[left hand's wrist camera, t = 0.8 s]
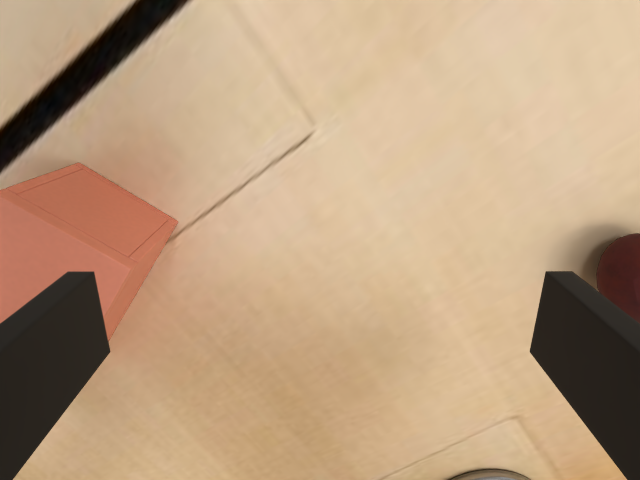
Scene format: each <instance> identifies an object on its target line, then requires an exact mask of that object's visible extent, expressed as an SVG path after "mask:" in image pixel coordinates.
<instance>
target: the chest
mask: <svg viewBox="0 0 640 480" xmlns="http://www.w3.org/2000/svg"><path fill="white" fill-rule="evenodd" d="M6 189H7V190H9V191H11V192H12V193H14V194H16V195H18V196H20V197H21V198H23V199H25V200H27V201H28V202H30V203H32V204H34V205H36V206H37V207H39V208H41V209H43V210H45V211H46V212H48V213H50V214H52V215H53V216H55V217H57V218H59V219H61V220H62V221H64V222H66V223H68V224H69V225H71V226H73V227H75V228H77V229H78V230H80V231H82V232H84V233H86V234H87V235H89V236H91V237H93V238H94V239H96V240H98V241H100V242H102V243H103V244H105V245H107V246H109V247H110V248H112V249H114V250H116V251H118V252H119V253H121V254H123V255H125V256H126V257H128V258H130V259H132V260H134V261H135V262H137V265H136V267H135V268H134V270H133V272H132V274H131V275H130V277H129V279H128V281H127V282H126V284H125V286H124V288H123V289H122V291H121V293H120V295H119V296H118V298H117V300H116V302H115V303H114V305H113V307H112V309H111V310H110V312H109V314H108V316H107V317H106V319H105V321H104V323H105V328H106V333H107V338H108V341H109V339H110V338H111V336H112V334H113V333H114V331H115V329H116V327H117V326H118V324H119V322H120V321H121V319H122V317H123V316H124V314H125V312H126V310H127V309H128V307H129V305H130V304H131V302H132V300H133V298H134V297H135V295H136V293H137V292H138V290H139V288H140V286H141V285H142V283H143V281H144V280H145V278H146V276H147V274H148V273H149V271H150V269H151V268H152V266H153V264H154V263H155V261H156V259H157V257H158V256H159V254H160V252H161V251H162V249H163V247H164V245H165V244H166V242H167V240H168V239H169V237H170V235H171V233H172V232H173V230H174V228H175V227H176V225H177V223H178V221H176V220H175V219H173V218H171V217H170V216H168V215H166V214H165V213H163V212H161V211H160V210H158V209H156V208H154V207H153V206H151V205H149V204H148V203H146V202H144V201H143V200H141V199H139V198H138V197H136V196H134V195H133V194H131V193H129V192H128V191H126V190H124V189H122V188H121V187H119V186H117V185H116V184H114V183H112V182H111V181H109V180H107V179H106V178H104V177H102V176H101V175H99V174H97V173H96V172H94V171H92V170H90V169H89V168H87V167H85V166H84V165H82V164H80V163H76V164H74V165H71V166H68V167H65V168H62V169H59V170H56V171H54V172H51V173H48V174H45V175H42V176H39V177H36V178H34V179H31V180H28V181H25V182H22V183H19V184H16V185H14V186H11V187H8V188H6Z"/></svg>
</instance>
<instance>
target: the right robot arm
mask: <svg viewBox="0 0 640 480" xmlns="http://www.w3.org/2000/svg"><path fill="white" fill-rule="evenodd" d="M451 480H530V479H528V478H527V477H525V476H522V475H520V474H517V473H514V472H509V471H504V470H481V471H475V472H470V473H466V474H463V475H460V476H458V477H455V478H453V479H451Z"/></svg>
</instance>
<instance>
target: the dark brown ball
mask: <svg viewBox="0 0 640 480" xmlns="http://www.w3.org/2000/svg"><path fill="white" fill-rule="evenodd" d="M597 288H598V290H599V292H600V293H601V294H602V295H603V296H605V297H606V298H607V299H609V300H610V301H611V302H612V303H614V304H615V305H616V306H618V307H619V308H620V309H621V310H623V311H624V312H625V313H627V314H628V315H629V316H631V317H632V318H633V319H634V320H636V321H637V322H638V323H640V234H630V235H627V236H624V237H621V238H619V239H617V240H616V241H614V242H613V243H612V244H610V245H609V246H608V247H607V249H606V250H605V252H604V253H603V254H602V256H601V259H600V262H599V265H598V269H597Z"/></svg>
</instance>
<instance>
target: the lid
mask: <svg viewBox="0 0 640 480" xmlns="http://www.w3.org/2000/svg"><path fill="white" fill-rule="evenodd" d="M136 265H137V262H135V261H134V260H132V259H130V258H128V257H126V256H125V255H123V254H121V253H119V252H118V251H116V250H114V249H112V248H110V247H109V246H107V245H105V244H103V243H102V242H100V241H98V240H96V239H94V238H93V237H91V236H89V235H87V234H86V233H84V232H82V231H80V230H78V229H77V228H75V227H73V226H71V225H69V224H68V223H66V222H64V221H62V220H61V219H59V218H57V217H55V216H53V215H52V214H50V213H48V212H46V211H45V210H43V209H41V208H39V207H37V206H36V205H34V204H32V203H30V202H28V201H27V200H25V199H23V198H21V197H20V196H18V195H16V194H14V193H12V192H11V191H9V190H7V189H3V190H0V323H2V322H3V321H4V320H6V319H7V318H8V317H9V316H11V315H12V314H13V313H15V312H16V311H17V310H18V309H20V308H21V307H22V306H24V305H25V304H26V303H28V302H29V301H30V300H31V299H33V298H34V297H35V296H37V295H38V294H39V293H41V292H42V291H43V290H44V289H46V288H47V287H48V286H50V285H51V284H52V283H54V282H55V281H56V280H57V279H59V278H60V277H61V276H63V275H64V274H65V273H66V272H68V271H94V273H95V278H96V283H97V288H98V293H99V298H100V303H101V308H102V313H103V318H104V321H105V319H106V317H107V316H108V314H109V312H110V310H111V309H112V307H113V305H114V303H115V302H116V300H117V298H118V296H119V295H120V293H121V291H122V289H123V288H124V286H125V284H126V282H127V281H128V279H129V277H130V275H131V274H132V272H133V270H134V268H135V267H136Z"/></svg>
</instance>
